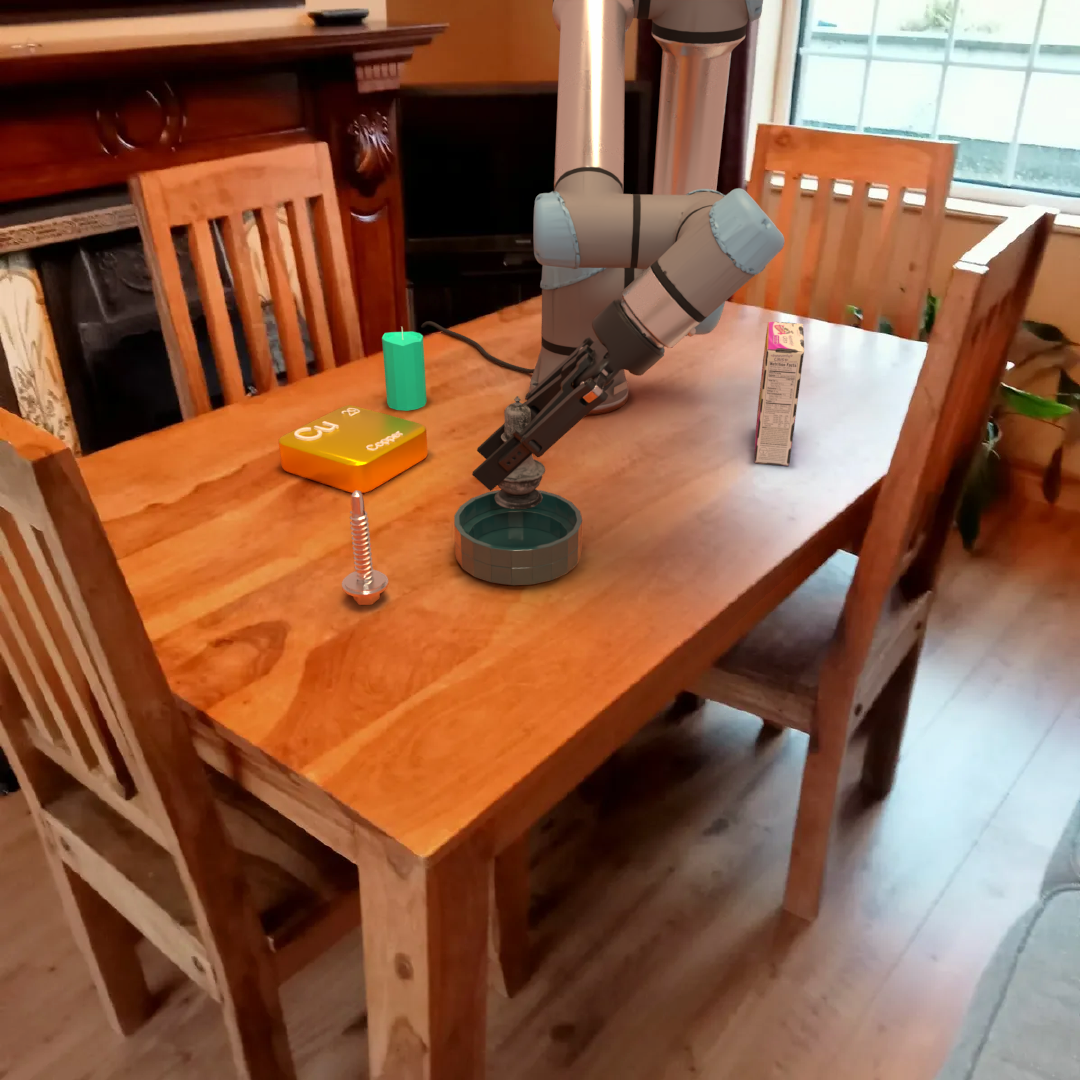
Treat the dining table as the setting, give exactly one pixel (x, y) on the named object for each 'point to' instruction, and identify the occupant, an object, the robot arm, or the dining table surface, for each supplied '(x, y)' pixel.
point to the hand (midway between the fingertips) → (484, 468)
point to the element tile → (353, 448)
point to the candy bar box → (779, 392)
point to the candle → (404, 370)
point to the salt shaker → (528, 475)
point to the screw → (362, 558)
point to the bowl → (518, 539)
